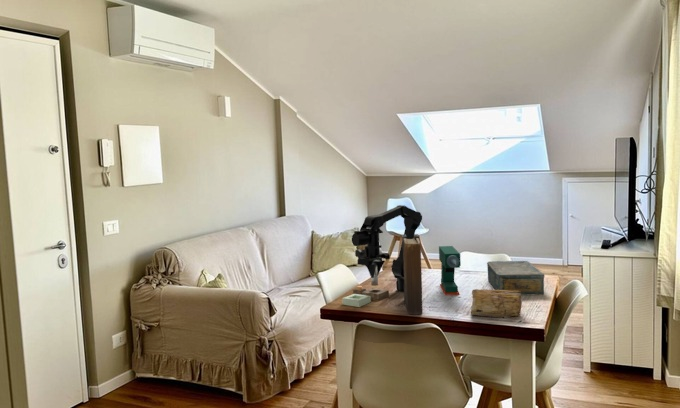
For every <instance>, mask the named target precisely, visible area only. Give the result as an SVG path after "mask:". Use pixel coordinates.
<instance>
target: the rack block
mask: <svg viewBox="0 0 680 408" xmlns="http://www.w3.org/2000/svg"><path fill="white" fill-rule="evenodd" d="M341 302H342V305H344V306H351V307H356V308H357V307H358V308H360V307H362V306H365V305H367V304H369V303H371V297H370V296H367V295H360V294H353V293H352V294H350V295H347V296H344V297H342V301H341Z"/></svg>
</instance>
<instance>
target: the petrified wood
mask: <svg viewBox="0 0 680 408" xmlns="http://www.w3.org/2000/svg"><path fill="white" fill-rule="evenodd" d="M471 295H472V301H471V303H472V304H471V308H470V314H471V315H474V316H481V317H491V316H494V318H496V317H497V318H500V317H502V318H511V317H514V316H515V317H518V316H520V315H521V311H522V301H523V300H522V297H523V296H522V295H521V291H510V290H508V291H507V290H495V289H485V288H484V289H479V288H478V289H477V288H476V289H472V291H471Z"/></svg>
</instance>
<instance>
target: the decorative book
mask: <svg viewBox="0 0 680 408" xmlns="http://www.w3.org/2000/svg"><path fill="white" fill-rule="evenodd" d="M401 241H402V242H401V244H402V248H403V262H404V292H403V300H404V305H405V308H406V309H405V311H406V313H407V314H409V315H422V314H423V310H424V309H423V281H422V280H423V279H422V278H423V277H422V275H423V274H422V251H421V250H422V244H421V243H422V242H421V241H420V235H419V233H418V234H417V233H415V234H414V238H413V239H407V237H406V235H404V234H402V235H401Z"/></svg>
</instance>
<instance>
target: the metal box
mask: <svg viewBox="0 0 680 408" xmlns="http://www.w3.org/2000/svg"><path fill="white" fill-rule="evenodd" d="M486 265H487V266H486V267H487V280H488V282H489V283H490V284H491V286H492V287H493V288H494V290H507V291H508V290H510V291H521V294H543V295H544V294H545V292H544V291H545V290H544V289H545V285H544V284H545V283H544V282H545V281H544V280H545V278H546V277H545V274H544V273H543V272H542V271H540V269H538V268H537V267H536V266H534V265H533V264H532V263H531V262H530V261H528V260H518V261H517V260H514V261H513V260H506V261H505V260H503V261H501V260H495V261H493V260H492V261H487V262H486Z"/></svg>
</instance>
